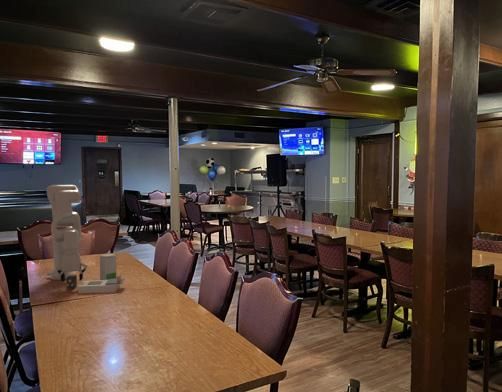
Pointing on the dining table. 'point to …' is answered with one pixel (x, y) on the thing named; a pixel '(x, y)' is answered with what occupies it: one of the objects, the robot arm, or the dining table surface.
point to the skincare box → (108, 267)
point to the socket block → (97, 287)
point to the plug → (71, 281)
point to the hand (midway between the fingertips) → (72, 280)
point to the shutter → (116, 280)
